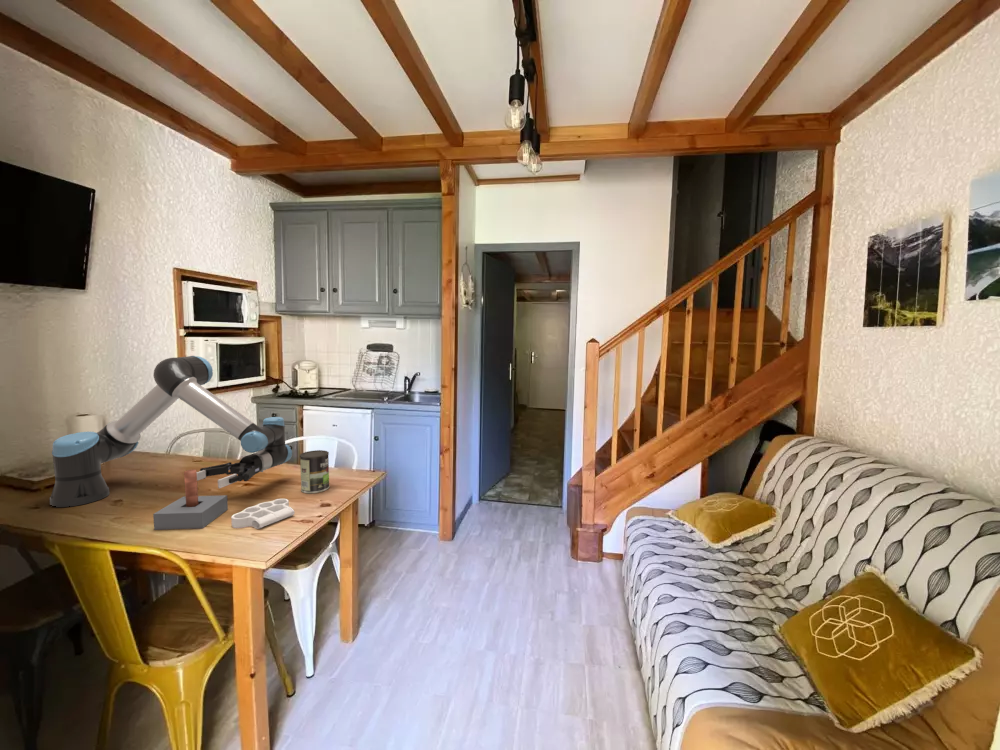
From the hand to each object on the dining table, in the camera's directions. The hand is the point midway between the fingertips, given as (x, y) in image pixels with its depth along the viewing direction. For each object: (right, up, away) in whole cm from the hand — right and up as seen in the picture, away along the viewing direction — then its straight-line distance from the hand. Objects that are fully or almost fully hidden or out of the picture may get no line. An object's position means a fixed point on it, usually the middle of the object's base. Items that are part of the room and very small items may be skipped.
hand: (202, 482), depth 137 cm
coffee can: (+26, -9, +25) cm, 38 cm away
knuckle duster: (+21, -12, -1) cm, 24 cm away
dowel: (-1, -11, -2) cm, 12 cm away
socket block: (-1, -11, -2) cm, 12 cm away
